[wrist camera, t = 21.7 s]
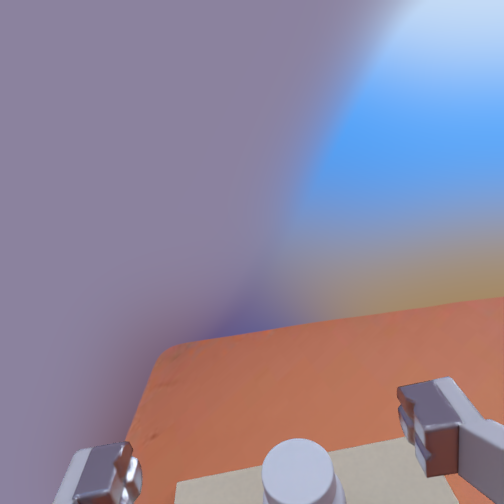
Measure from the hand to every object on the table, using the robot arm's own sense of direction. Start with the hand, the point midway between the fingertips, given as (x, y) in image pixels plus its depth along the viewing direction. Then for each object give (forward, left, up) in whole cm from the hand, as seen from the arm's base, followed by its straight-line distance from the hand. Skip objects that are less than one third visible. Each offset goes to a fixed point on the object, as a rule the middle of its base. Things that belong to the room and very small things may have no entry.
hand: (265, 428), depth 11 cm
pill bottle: (0, +6, -18) cm, 19 cm away
